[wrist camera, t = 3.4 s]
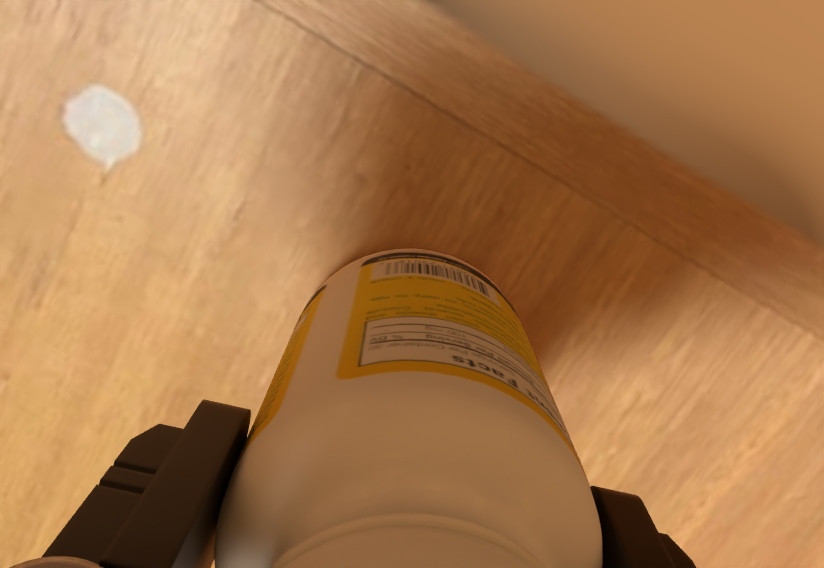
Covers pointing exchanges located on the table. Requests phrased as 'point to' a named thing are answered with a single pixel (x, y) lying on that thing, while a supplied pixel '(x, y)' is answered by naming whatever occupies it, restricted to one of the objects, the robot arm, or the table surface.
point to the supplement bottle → (408, 435)
